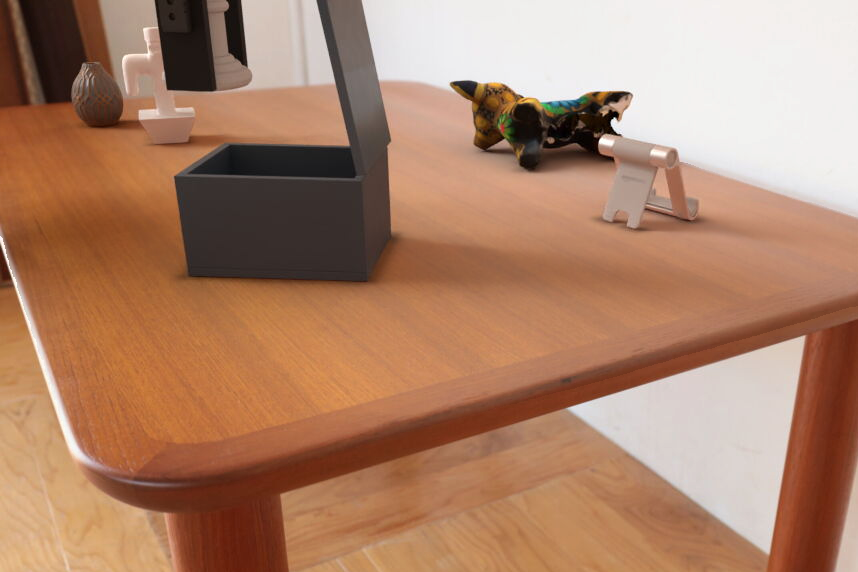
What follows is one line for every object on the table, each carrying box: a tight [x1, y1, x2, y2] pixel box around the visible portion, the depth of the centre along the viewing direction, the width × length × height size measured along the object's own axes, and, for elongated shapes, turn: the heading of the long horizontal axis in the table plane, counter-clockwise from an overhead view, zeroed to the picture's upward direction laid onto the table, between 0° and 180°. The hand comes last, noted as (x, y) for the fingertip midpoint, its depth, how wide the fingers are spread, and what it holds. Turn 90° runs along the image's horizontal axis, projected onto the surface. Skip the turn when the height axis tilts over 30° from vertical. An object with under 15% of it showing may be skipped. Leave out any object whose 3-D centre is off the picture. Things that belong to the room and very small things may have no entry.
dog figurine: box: [449, 79, 634, 170], centre depth 119 cm, size 20×12×18 cm
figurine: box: [121, 26, 196, 145], centre depth 122 cm, size 7×9×15 cm
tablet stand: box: [598, 134, 700, 230], centre depth 93 cm, size 9×8×8 cm
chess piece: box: [162, 0, 253, 93], centre depth 53 cm, size 5×5×9 cm
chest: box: [173, 142, 392, 282], centre depth 81 cm, size 16×13×9 cm
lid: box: [315, 0, 392, 176], centre depth 75 cm, size 16×13×9 cm
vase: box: [70, 61, 124, 127], centre depth 132 cm, size 7×7×9 cm
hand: (209, 80), depth 55 cm, fingers closed on chess piece, 5 cm apart
